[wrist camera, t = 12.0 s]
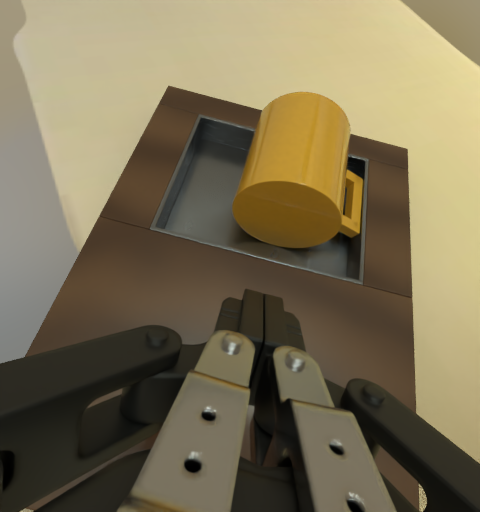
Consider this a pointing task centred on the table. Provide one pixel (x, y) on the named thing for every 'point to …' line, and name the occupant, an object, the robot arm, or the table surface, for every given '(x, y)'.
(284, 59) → the table surface
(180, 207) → the sink
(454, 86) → the table surface
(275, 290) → the counter
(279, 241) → the mug
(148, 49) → the table surface
